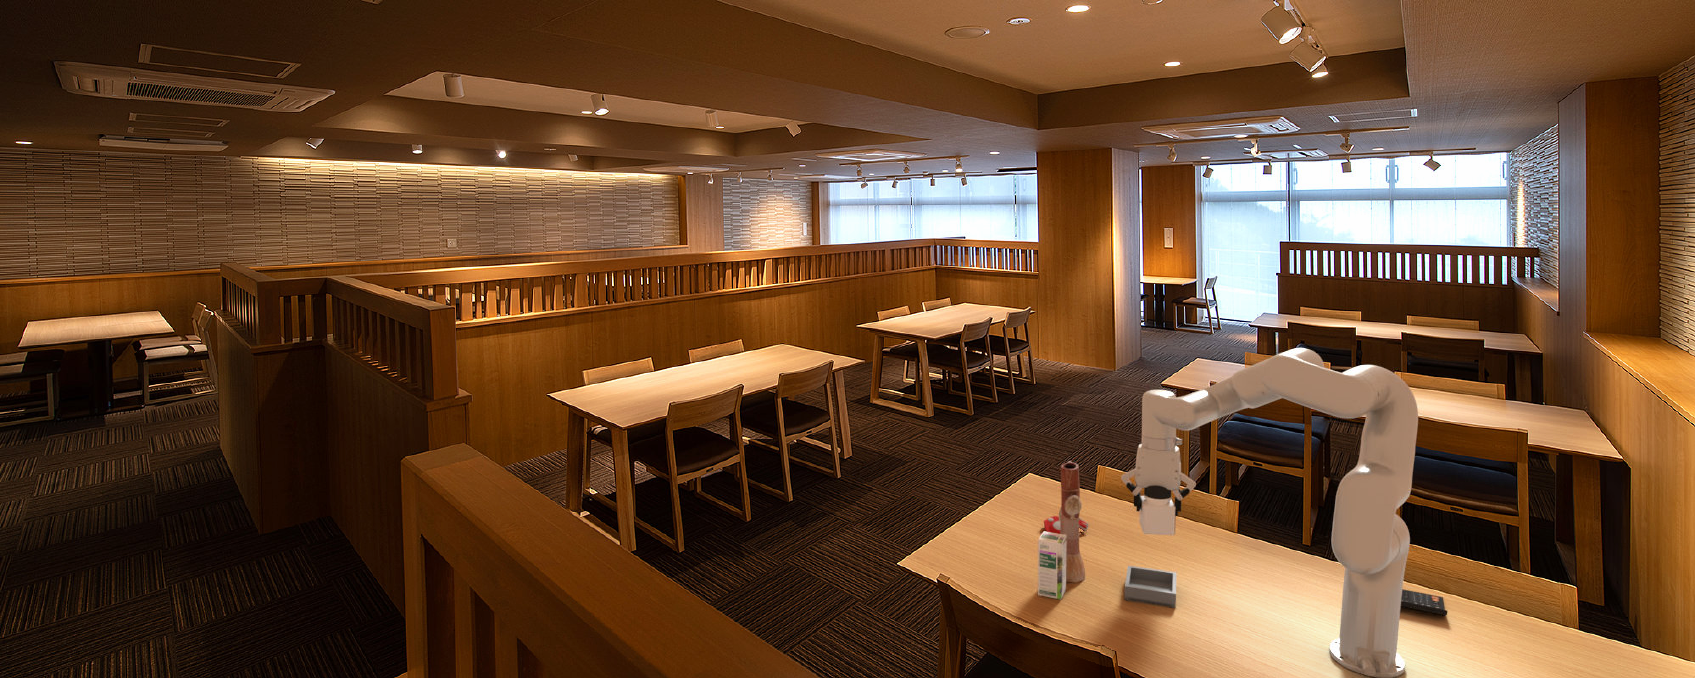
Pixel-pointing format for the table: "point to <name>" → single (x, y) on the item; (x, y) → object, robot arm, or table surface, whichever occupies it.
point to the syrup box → (1052, 565)
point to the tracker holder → (1054, 526)
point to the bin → (1151, 586)
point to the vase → (1071, 520)
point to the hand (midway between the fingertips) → (1157, 511)
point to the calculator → (1423, 602)
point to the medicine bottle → (1157, 511)
